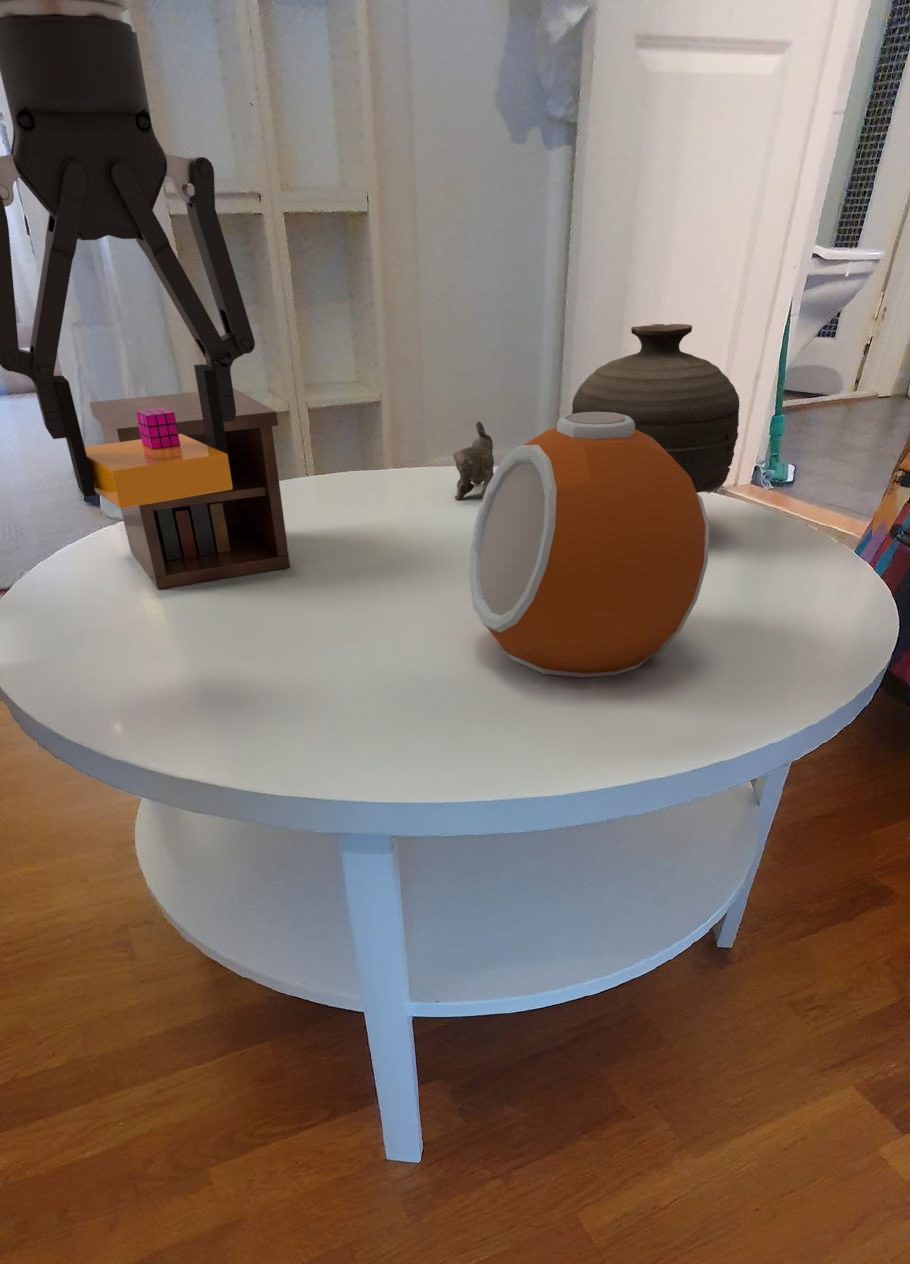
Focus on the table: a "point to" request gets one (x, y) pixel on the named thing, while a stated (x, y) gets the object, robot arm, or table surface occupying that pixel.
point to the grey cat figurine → (475, 464)
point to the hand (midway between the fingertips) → (155, 482)
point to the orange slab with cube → (157, 464)
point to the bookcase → (207, 497)
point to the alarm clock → (588, 548)
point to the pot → (671, 402)
